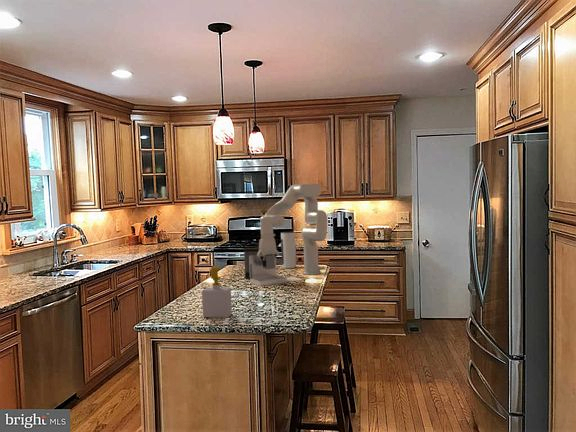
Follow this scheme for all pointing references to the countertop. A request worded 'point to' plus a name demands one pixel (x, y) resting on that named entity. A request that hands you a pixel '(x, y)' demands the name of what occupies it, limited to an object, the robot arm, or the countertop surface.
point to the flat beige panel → (293, 279)
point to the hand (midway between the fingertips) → (268, 265)
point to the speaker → (288, 250)
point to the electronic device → (248, 253)
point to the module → (270, 262)
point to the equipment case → (263, 273)
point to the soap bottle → (216, 298)
